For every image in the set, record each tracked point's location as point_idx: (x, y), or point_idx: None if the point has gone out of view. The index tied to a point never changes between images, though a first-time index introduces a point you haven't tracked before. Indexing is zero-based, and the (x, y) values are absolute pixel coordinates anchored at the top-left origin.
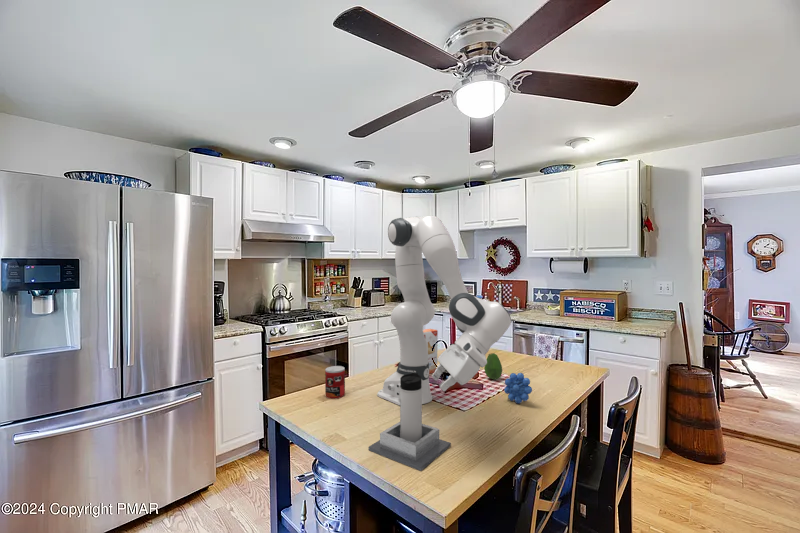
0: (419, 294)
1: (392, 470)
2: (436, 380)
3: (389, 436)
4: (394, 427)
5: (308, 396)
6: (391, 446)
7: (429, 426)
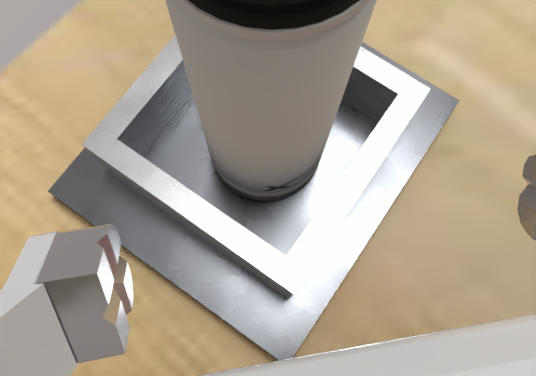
0: None
1: (72, 79)
2: (522, 223)
3: None
4: None
5: None
6: None
7: (326, 232)
